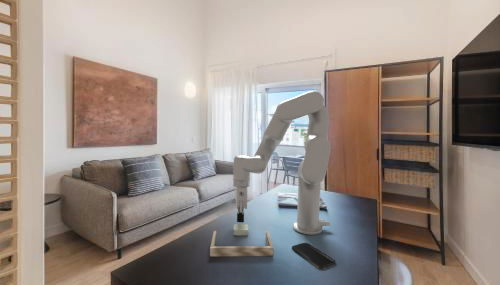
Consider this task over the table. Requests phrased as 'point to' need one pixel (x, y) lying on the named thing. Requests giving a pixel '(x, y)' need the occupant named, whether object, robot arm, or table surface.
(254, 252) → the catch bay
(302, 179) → the robot arm
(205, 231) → the table surface
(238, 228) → the sage tile
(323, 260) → the phone
